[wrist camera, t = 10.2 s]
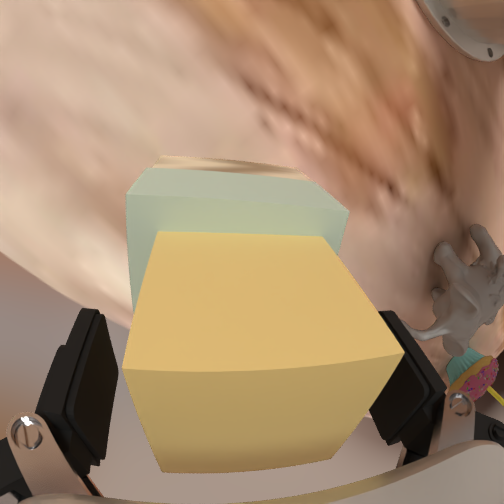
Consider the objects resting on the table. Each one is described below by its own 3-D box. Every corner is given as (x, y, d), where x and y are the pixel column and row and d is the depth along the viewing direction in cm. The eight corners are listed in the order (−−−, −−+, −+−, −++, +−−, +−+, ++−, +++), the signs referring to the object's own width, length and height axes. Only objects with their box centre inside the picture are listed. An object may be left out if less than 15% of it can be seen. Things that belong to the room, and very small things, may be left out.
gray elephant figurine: (482, 265, 25) (527, 307, 18) (400, 337, 27) (435, 392, 21) (467, 200, 21) (530, 240, 14) (367, 286, 23) (415, 353, 16)
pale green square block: (314, 181, 14) (349, 211, 11) (284, 311, 18) (302, 360, 15) (146, 167, 13) (125, 194, 9) (149, 307, 16) (140, 359, 13)
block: (322, 236, 11) (404, 352, 6) (294, 349, 14) (331, 458, 9) (157, 231, 10) (121, 368, 5) (167, 351, 13) (162, 472, 8)
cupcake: (477, 328, 30) (525, 389, 20) (481, 350, 34) (520, 403, 24) (429, 370, 32) (471, 437, 22) (440, 386, 36) (474, 443, 26)
